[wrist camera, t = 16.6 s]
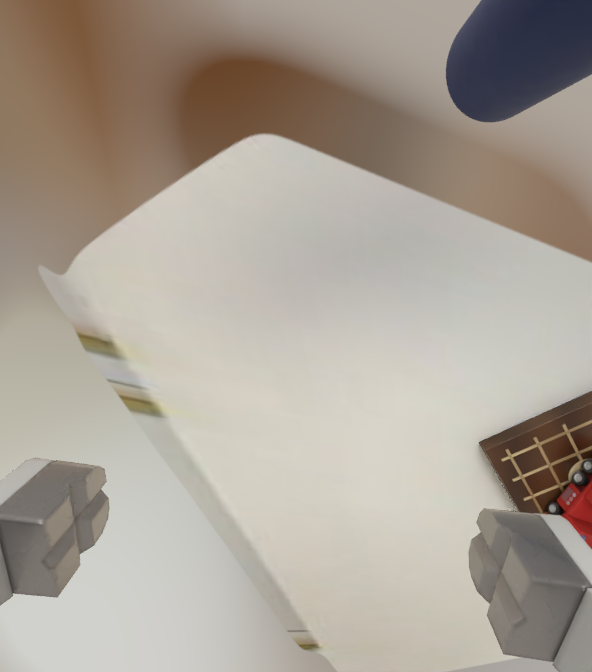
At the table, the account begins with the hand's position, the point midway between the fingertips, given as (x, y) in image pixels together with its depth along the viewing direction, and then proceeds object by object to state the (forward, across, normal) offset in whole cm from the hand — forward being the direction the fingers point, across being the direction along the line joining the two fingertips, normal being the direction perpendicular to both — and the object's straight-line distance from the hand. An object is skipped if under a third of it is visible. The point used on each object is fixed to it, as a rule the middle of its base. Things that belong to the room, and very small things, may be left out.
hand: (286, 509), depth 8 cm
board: (+29, -31, +18) cm, 46 cm away
